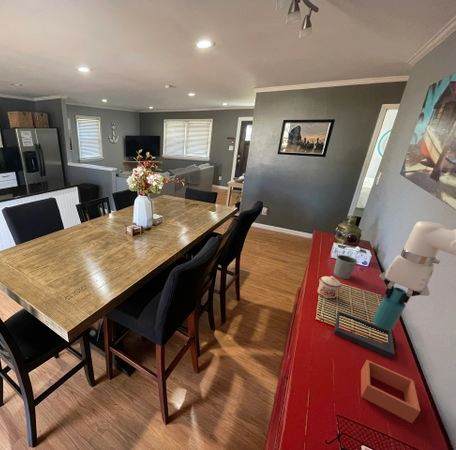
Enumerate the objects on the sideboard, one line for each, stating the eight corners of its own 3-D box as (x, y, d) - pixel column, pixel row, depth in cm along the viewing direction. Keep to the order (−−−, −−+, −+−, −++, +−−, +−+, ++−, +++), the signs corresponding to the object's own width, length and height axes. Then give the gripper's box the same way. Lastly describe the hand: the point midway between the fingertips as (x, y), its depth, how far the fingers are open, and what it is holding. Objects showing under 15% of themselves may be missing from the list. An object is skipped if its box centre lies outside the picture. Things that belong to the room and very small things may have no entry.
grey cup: (353, 281, 147) (360, 264, 143) (334, 277, 150) (340, 261, 145) (347, 272, 156) (353, 256, 152) (329, 269, 159) (334, 253, 154)
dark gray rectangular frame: (388, 335, 108) (391, 330, 107) (392, 358, 96) (395, 354, 95) (336, 314, 119) (338, 310, 118) (333, 334, 108) (335, 329, 107)
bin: (406, 391, 84) (413, 380, 82) (412, 423, 75) (420, 411, 73) (360, 370, 91) (366, 359, 89) (361, 396, 82) (367, 385, 80)
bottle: (392, 323, 93) (409, 289, 87) (394, 332, 89) (412, 297, 83) (372, 315, 97) (387, 283, 91) (373, 324, 92) (389, 290, 86)
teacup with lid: (316, 295, 133) (322, 278, 128) (316, 287, 140) (322, 270, 135) (342, 304, 127) (350, 286, 122) (342, 295, 134) (348, 277, 129)
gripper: (455, 265, 77) (429, 310, 84) (389, 244, 90) (371, 285, 97) (450, 271, 73) (423, 318, 80) (381, 249, 86) (363, 291, 93)
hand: (395, 299), depth 88 cm, fingers closed on bottle, 3 cm apart
